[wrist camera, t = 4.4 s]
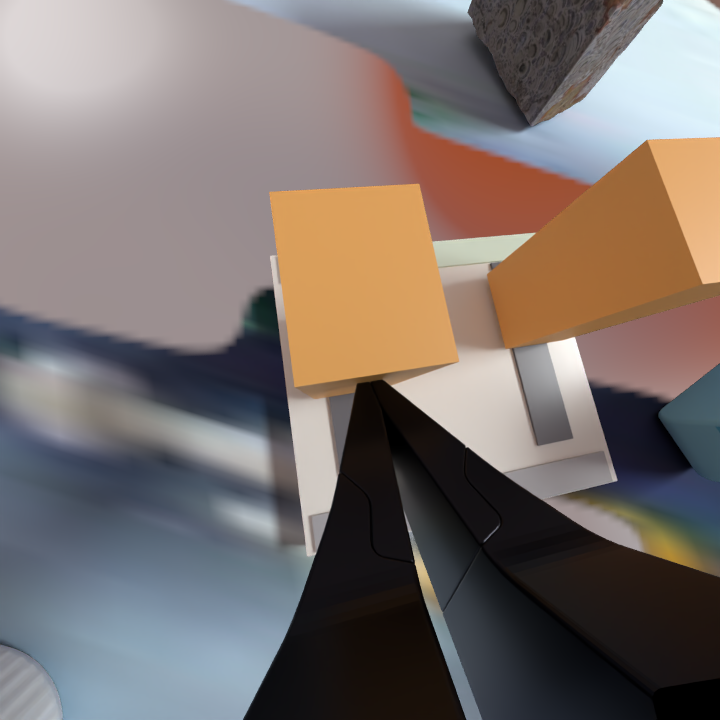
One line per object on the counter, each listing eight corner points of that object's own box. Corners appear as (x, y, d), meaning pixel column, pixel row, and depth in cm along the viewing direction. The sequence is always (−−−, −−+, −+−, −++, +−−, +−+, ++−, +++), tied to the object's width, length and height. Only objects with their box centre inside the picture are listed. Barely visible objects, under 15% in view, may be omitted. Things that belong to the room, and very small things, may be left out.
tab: (562, 340, 17) (804, 271, 8) (505, 349, 17) (702, 283, 8) (541, 268, 18) (743, 136, 9) (486, 274, 17) (647, 139, 9)
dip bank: (598, 476, 18) (620, 481, 16) (309, 545, 15) (307, 558, 14) (530, 242, 20) (545, 230, 19) (273, 265, 18) (269, 254, 16)
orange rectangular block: (384, 387, 15) (459, 361, 7) (314, 399, 15) (294, 387, 6) (369, 305, 16) (419, 183, 7) (302, 313, 16) (269, 192, 7)
